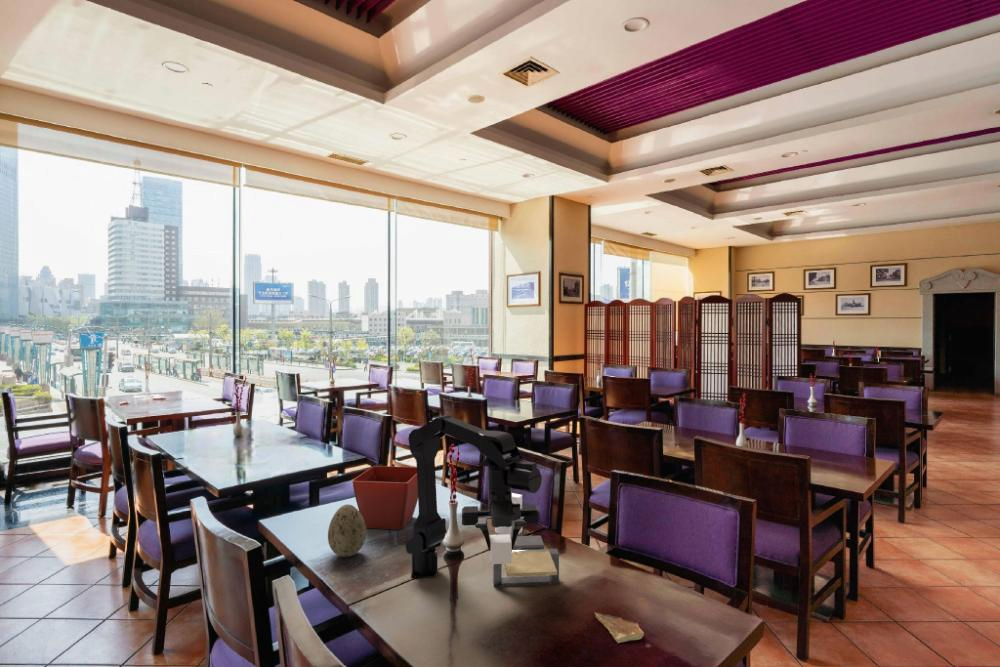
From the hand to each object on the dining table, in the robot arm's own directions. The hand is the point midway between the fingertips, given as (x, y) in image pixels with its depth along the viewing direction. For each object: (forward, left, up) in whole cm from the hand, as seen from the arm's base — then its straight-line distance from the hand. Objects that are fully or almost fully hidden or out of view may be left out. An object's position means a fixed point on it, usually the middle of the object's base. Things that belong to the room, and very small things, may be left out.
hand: (500, 549), depth 126 cm
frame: (+7, +9, -13) cm, 17 cm away
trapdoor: (+7, +6, -6) cm, 11 cm away
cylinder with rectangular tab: (+6, +44, -13) cm, 46 cm away
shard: (+24, -14, -14) cm, 31 cm away
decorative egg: (-43, +29, -13) cm, 53 cm away
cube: (0, 0, -2) cm, 2 cm away
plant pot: (-34, +54, -13) cm, 65 cm away
